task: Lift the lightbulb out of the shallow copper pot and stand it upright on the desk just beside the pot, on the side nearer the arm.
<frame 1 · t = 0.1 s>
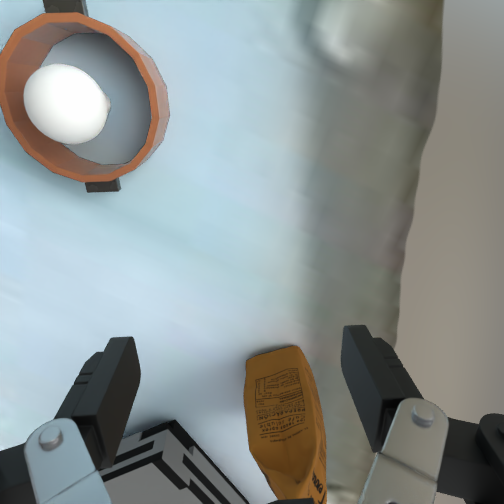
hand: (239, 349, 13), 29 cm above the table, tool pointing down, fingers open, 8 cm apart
lightbulb: (101, 103, 36), resting in copper pot
game console: (172, 485, 62), on the table
copper pot: (101, 103, 36), on the table
coffee package: (279, 376, 53), on the table
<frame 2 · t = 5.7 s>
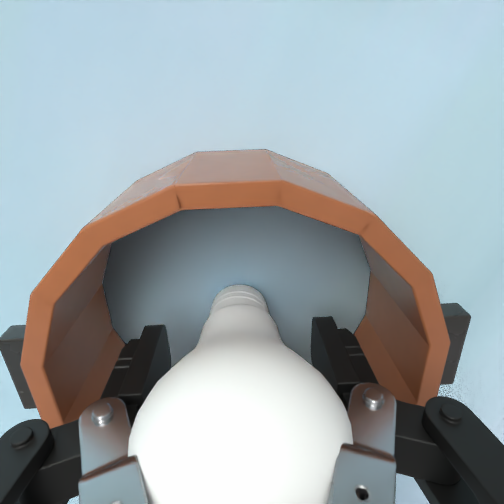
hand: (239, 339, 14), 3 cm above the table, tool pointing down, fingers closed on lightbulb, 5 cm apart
lightbulb: (238, 296, 17), resting in copper pot, touching gripper
copper pot: (239, 299, 17), on the table
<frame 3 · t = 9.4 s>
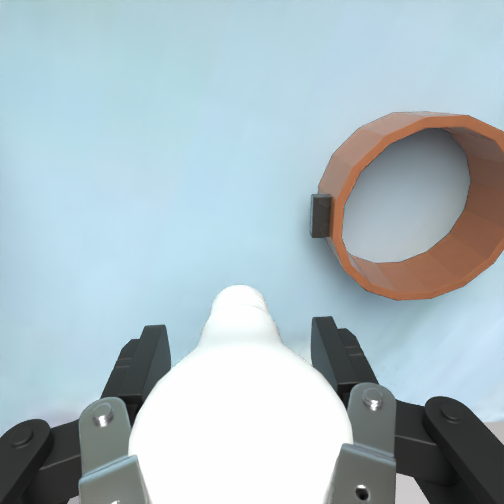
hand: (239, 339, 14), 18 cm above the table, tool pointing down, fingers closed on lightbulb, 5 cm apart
lightbulb: (239, 297, 17), point 14 cm above the table, touching gripper
copper pot: (396, 197, 30), on the table
when the fingers open (3 cm above the table, at t = 13.1 s): lightbulb stays where it is, on the table.
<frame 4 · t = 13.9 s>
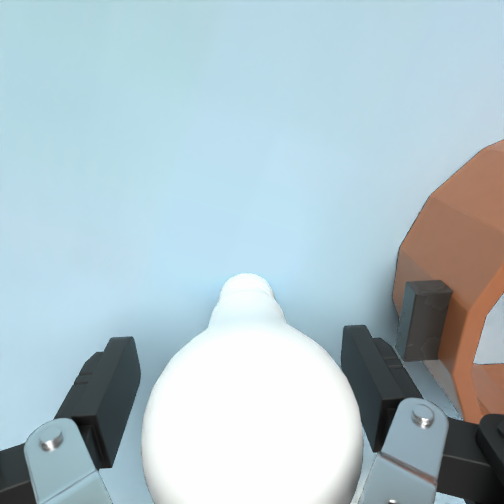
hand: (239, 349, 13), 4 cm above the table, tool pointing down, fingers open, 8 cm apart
lightbulb: (245, 285, 17), on the table
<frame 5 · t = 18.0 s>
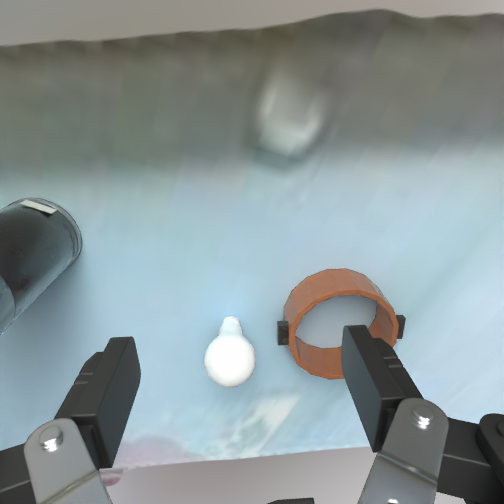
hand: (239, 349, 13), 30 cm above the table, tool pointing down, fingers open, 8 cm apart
lightbulb: (231, 319, 49), on the table
copper pot: (332, 312, 49), on the table
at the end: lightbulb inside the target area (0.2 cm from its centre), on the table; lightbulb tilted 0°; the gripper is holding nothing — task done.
